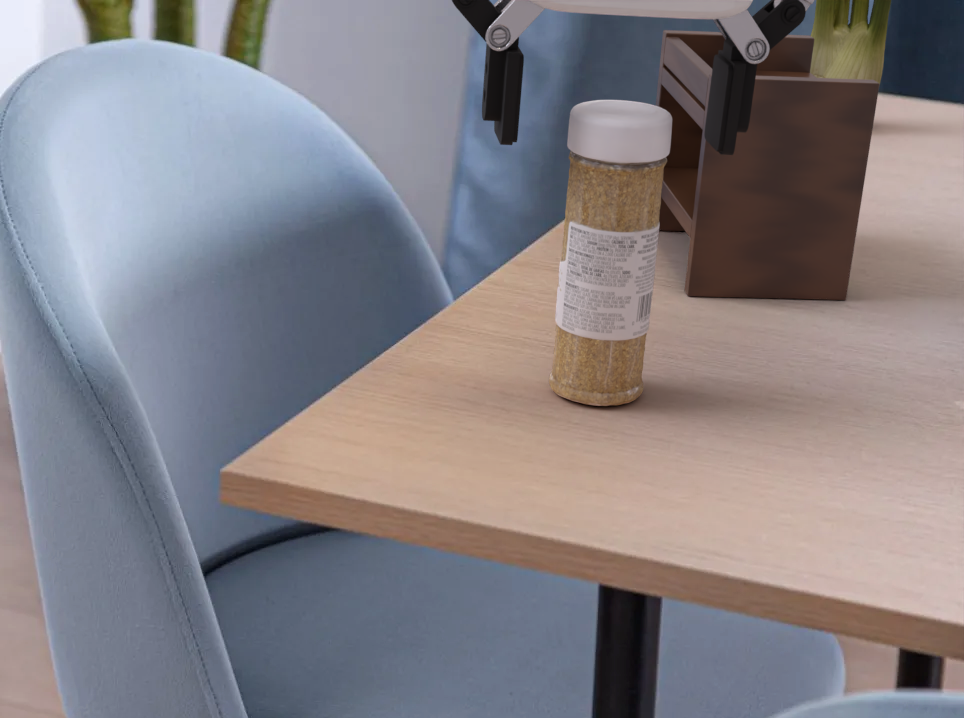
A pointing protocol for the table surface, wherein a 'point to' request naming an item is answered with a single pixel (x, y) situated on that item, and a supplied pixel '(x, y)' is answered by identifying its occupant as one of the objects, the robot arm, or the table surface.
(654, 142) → the spice jar
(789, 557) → the table surface
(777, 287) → the rack
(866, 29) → the fennel bulb
